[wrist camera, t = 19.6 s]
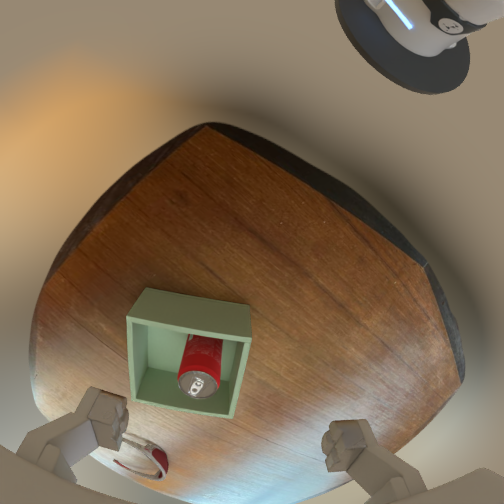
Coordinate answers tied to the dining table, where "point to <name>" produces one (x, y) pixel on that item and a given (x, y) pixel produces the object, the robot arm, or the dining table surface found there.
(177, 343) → the bin
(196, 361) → the beverage can
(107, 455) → the dining table surface
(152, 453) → the sunglasses
